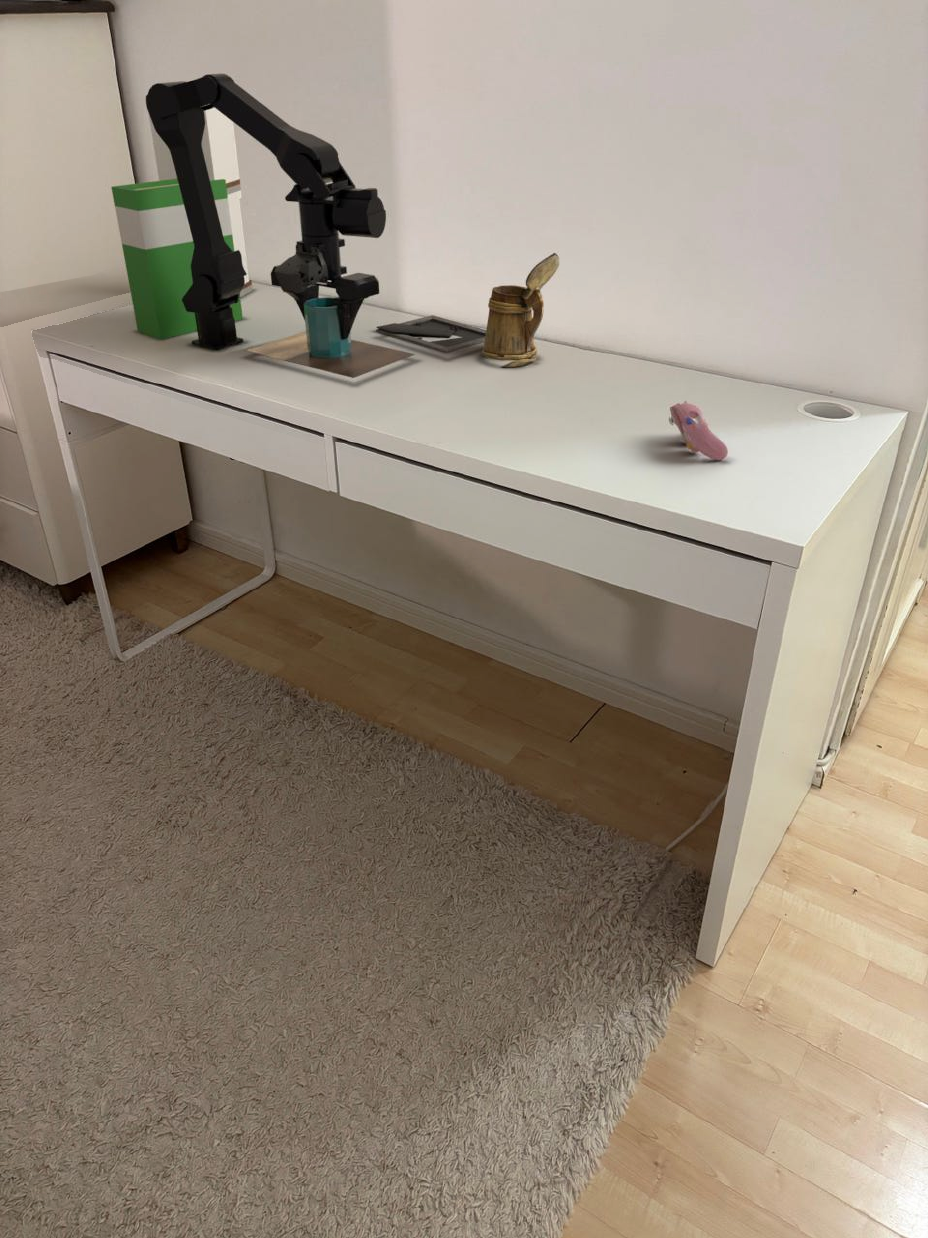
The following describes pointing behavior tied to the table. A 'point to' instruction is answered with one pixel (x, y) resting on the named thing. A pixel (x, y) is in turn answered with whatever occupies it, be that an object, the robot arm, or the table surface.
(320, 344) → the teal cup
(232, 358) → the table surface
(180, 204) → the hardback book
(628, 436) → the table surface
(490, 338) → the wooden mug
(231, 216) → the tall white box
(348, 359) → the serving board
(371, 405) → the table surface
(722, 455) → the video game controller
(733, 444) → the table surface
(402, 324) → the picture frame
